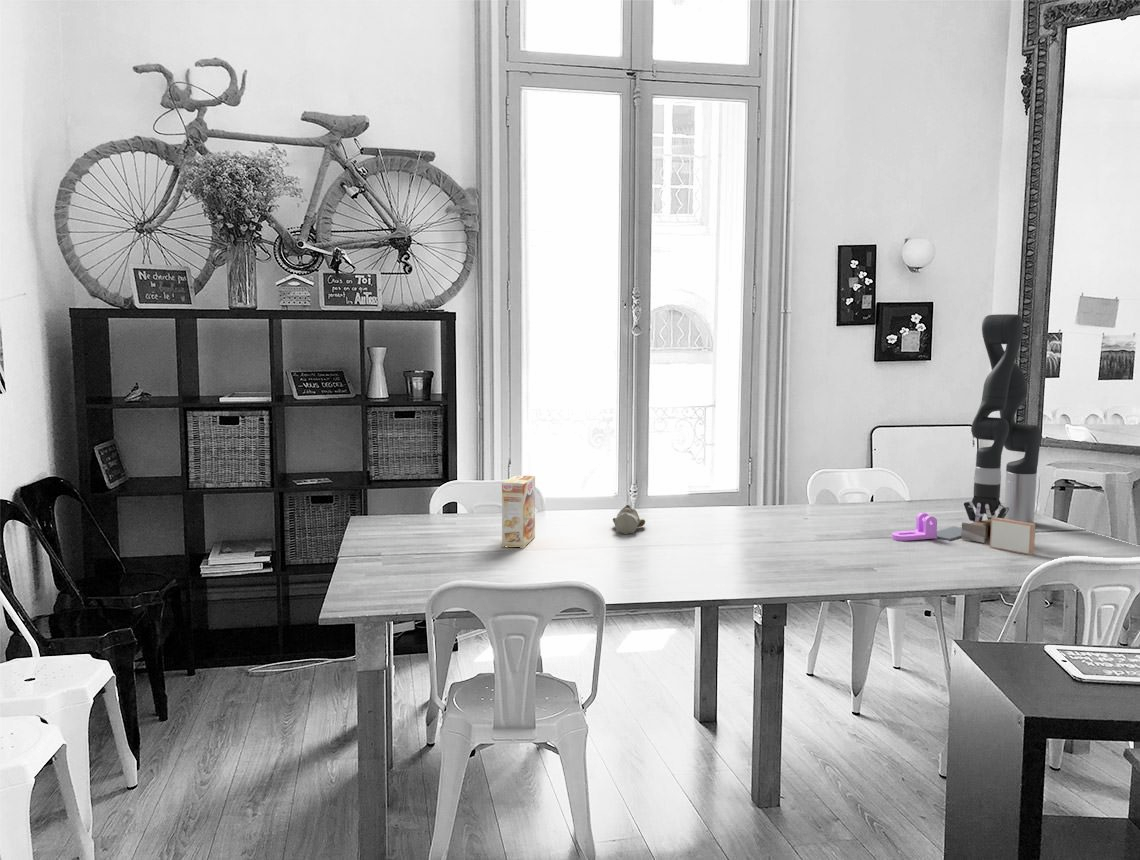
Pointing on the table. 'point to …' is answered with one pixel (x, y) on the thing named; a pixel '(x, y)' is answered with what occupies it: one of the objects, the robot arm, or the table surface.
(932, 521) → the bracket
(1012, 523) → the tile
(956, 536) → the mat
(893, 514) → the table surface
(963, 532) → the upright plank on base
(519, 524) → the coffeecake box
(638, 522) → the ceramic sculpture
